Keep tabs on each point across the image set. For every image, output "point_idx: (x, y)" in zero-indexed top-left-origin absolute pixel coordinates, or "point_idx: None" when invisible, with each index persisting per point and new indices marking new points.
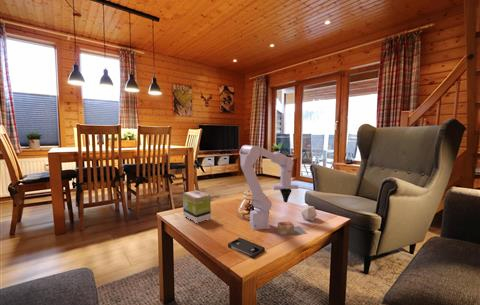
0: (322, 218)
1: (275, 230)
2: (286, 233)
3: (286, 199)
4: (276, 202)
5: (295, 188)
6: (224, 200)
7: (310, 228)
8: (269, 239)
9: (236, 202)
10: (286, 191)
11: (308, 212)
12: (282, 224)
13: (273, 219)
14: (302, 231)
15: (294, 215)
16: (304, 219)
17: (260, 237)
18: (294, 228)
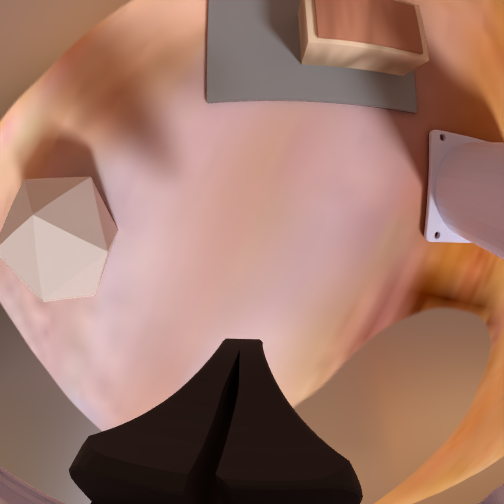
0: None
1: (414, 83)
2: None
3: (235, 362)
4: None
5: (4, 472)
6: (416, 500)
7: (140, 72)
8: (459, 18)
9: (390, 494)
10: (245, 480)
11: (58, 195)
12: (403, 9)
13: (345, 291)
14: (227, 17)
15: (155, 324)
16: (113, 221)
17: (495, 58)
18: (263, 69)
